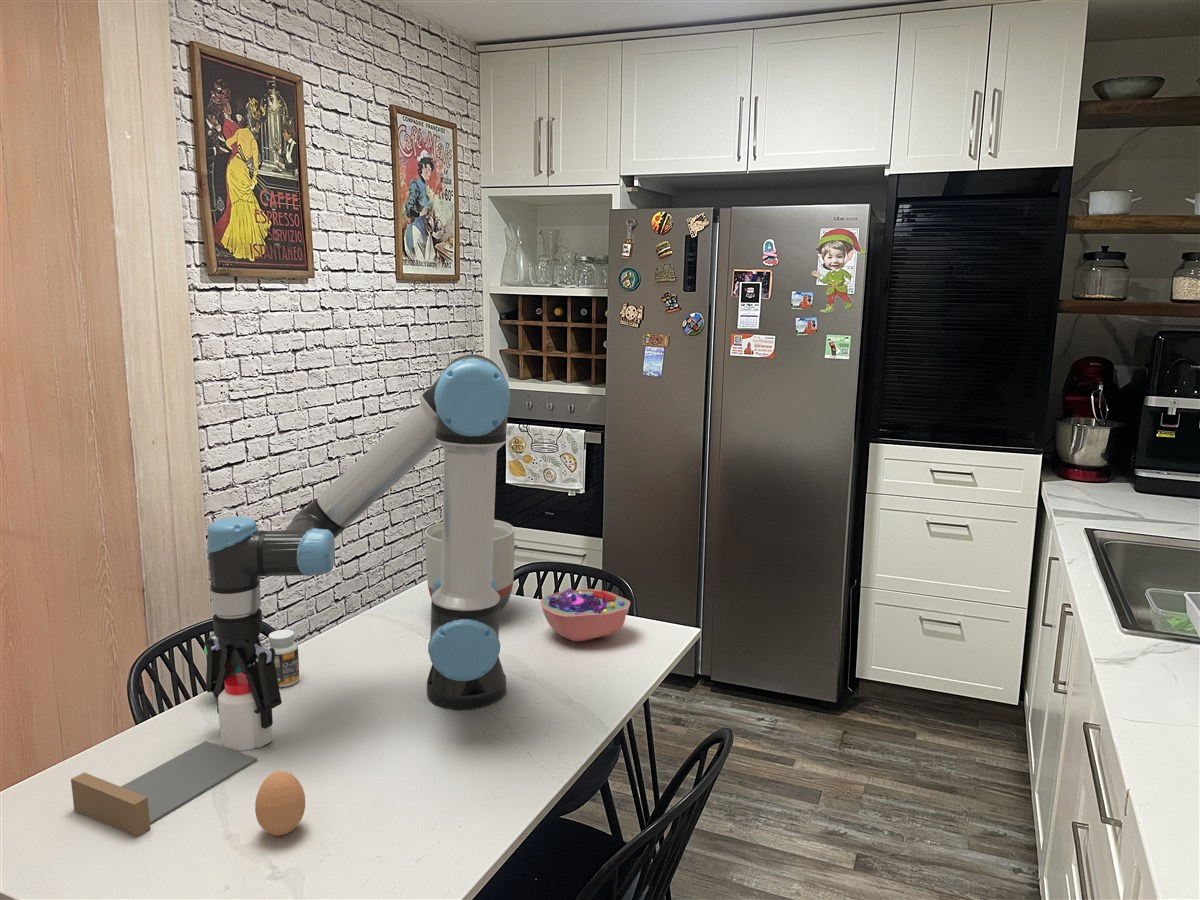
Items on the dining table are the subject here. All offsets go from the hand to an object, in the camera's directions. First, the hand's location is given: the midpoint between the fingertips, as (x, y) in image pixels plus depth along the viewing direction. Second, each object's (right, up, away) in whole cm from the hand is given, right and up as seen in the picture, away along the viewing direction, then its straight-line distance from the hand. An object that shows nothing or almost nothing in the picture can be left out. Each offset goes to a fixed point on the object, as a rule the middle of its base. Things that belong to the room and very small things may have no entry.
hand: (246, 737), depth 146 cm
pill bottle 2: (-1, +4, +22) cm, 22 cm away
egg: (+15, -5, -25) cm, 30 cm away
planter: (+30, +9, +56) cm, 64 cm away
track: (-5, -3, -13) cm, 14 cm away
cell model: (+57, +7, +45) cm, 73 cm away
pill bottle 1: (0, 0, 0) cm, 0 cm away
